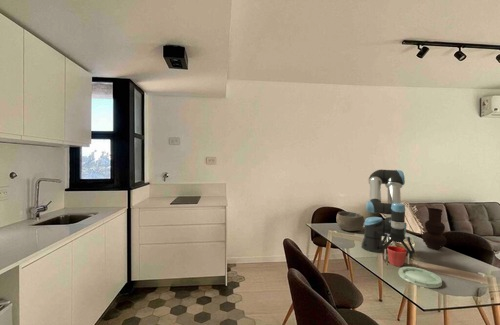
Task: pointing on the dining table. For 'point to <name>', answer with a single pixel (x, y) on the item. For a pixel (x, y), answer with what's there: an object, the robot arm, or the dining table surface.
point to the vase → (434, 230)
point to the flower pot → (396, 255)
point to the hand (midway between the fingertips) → (396, 260)
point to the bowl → (350, 221)
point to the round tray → (420, 277)
